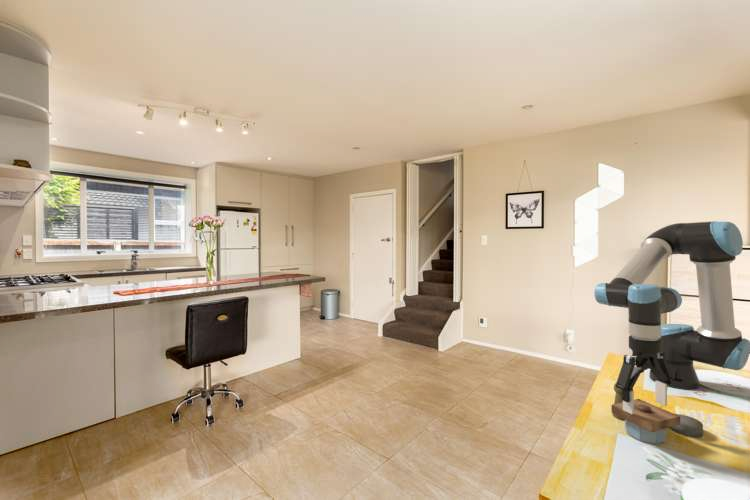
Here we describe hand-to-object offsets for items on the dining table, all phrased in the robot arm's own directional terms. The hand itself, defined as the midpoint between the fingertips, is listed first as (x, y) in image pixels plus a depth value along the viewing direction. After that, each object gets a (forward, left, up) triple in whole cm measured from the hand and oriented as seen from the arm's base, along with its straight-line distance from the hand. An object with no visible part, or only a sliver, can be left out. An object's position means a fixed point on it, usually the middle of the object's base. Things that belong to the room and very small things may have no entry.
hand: (645, 407), depth 101 cm
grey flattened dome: (-14, +2, -8) cm, 16 cm away
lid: (0, 0, -3) cm, 3 cm away
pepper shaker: (-4, -10, -8) cm, 13 cm away
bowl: (0, 0, -8) cm, 8 cm away
